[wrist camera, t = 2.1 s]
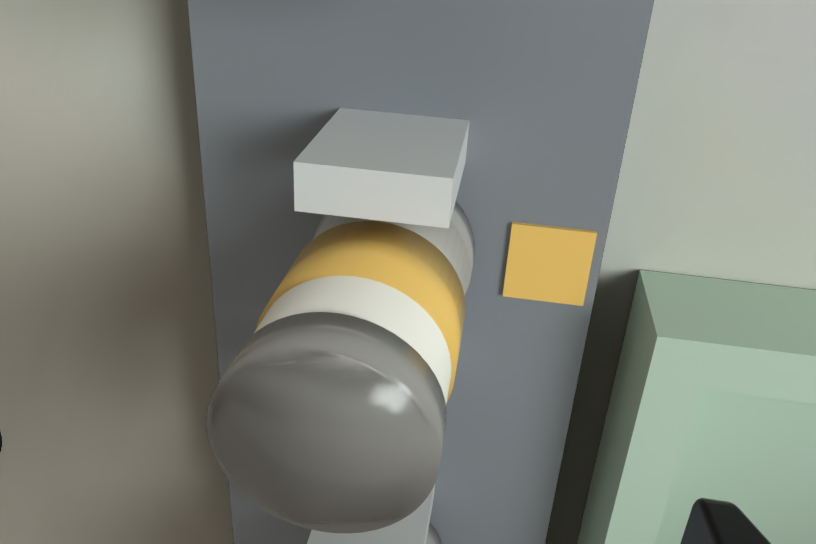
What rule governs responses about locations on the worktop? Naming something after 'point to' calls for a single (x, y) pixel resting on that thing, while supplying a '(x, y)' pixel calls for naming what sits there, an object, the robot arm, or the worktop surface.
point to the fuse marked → (348, 376)
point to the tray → (709, 412)
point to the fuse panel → (428, 203)
